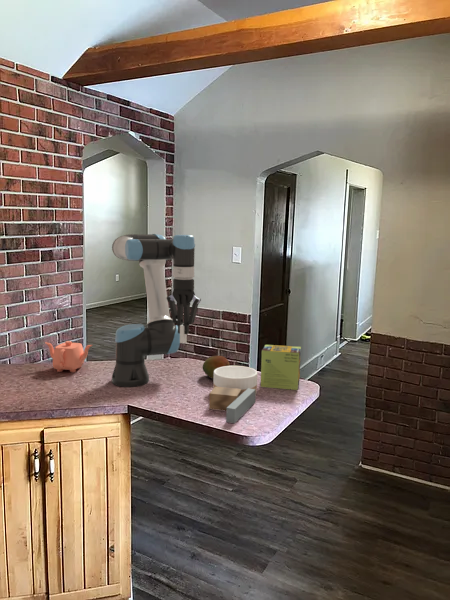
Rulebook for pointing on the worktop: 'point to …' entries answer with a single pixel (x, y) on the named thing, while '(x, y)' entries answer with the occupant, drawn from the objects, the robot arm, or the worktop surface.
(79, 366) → the teapot
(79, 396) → the worktop surface
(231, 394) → the walnut block
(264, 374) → the protein box
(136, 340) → the robot arm
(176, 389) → the worktop surface
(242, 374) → the bowl
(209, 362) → the fruit
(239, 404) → the grey long rectangular bar
